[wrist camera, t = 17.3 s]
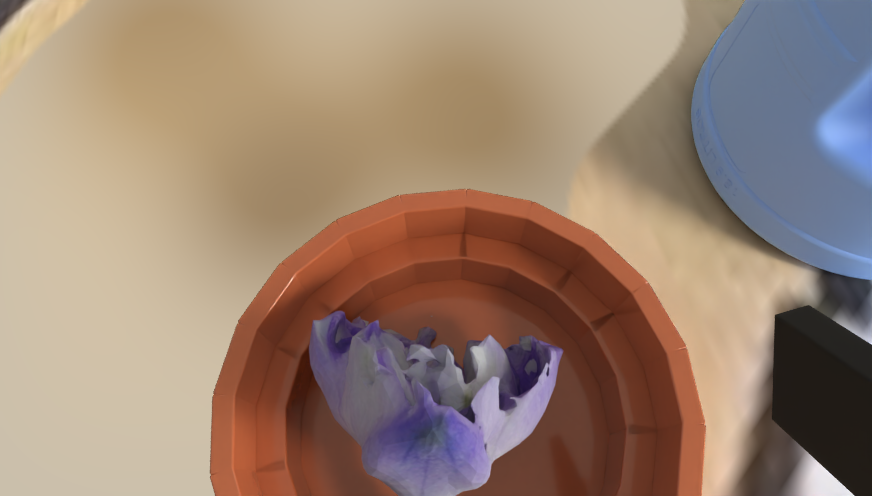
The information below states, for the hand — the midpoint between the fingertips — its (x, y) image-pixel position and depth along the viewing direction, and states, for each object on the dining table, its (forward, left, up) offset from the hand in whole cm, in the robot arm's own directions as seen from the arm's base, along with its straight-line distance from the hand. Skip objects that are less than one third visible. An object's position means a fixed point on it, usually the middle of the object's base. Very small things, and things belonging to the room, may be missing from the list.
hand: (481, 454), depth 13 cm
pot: (0, +2, -14) cm, 15 cm away
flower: (-1, +2, -14) cm, 14 cm away
